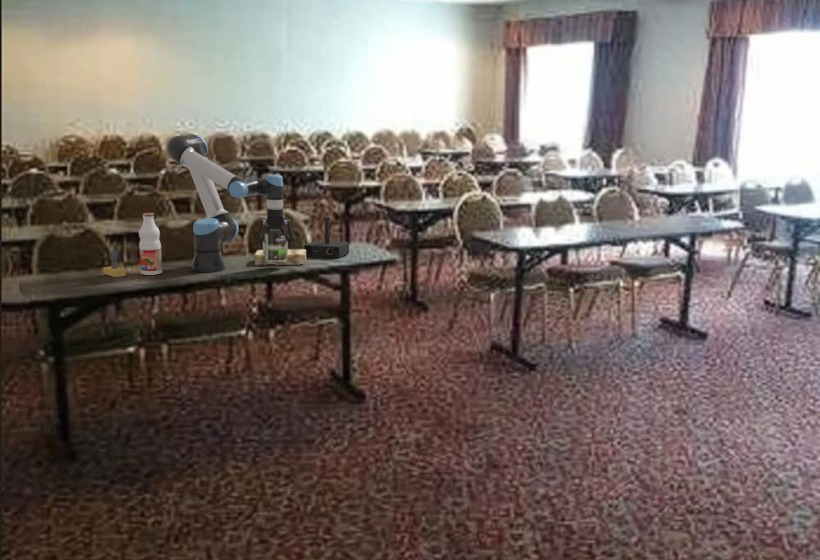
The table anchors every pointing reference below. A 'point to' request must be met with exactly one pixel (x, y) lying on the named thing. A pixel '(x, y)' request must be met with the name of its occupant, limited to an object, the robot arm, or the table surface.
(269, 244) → the coffee can
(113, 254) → the rubber stamp
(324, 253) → the projector
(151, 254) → the fruit juice
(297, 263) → the beige flat block
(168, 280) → the table surface
